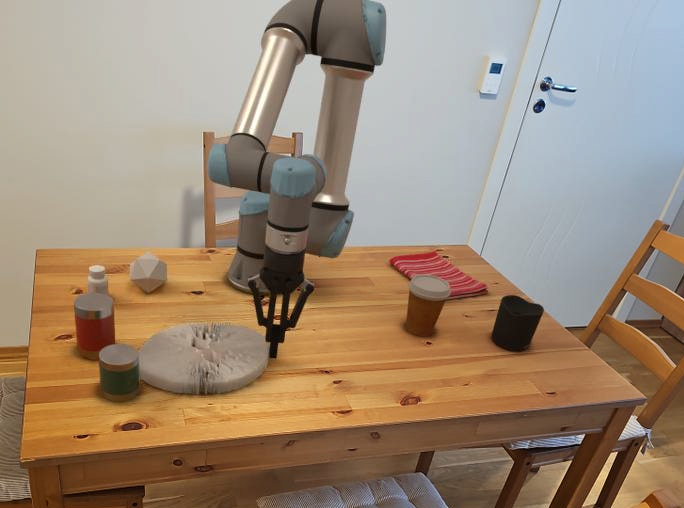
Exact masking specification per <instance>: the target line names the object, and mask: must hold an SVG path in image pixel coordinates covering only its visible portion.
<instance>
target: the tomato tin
mask: <svg viewBox="0 0 684 508" xmlns="http://www.w3.org/2000/svg"><path fill="white" fill-rule="evenodd" d="M114 307H115V306H114V299H113V297H112V296H110V295H106V294H103V293H88V292H85V293H83V294H80V295H78V296H76V297H75V298H74V300H73V309H74V310H73V311H74V324H75V336H76V345H77V346H76V347H77V353H78V355H79V356H80V357H82V358H84V359H86V360H90V361H91V360H93V361H99V353H100V351H101V350H102V349H103V348H105V347H106V346H109V345H113V344H116V325H115V308H114Z"/></svg>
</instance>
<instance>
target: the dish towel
mask: <svg viewBox="0 0 684 508" xmlns="http://www.w3.org/2000/svg"><path fill="white" fill-rule="evenodd" d="M389 264H390V265H391V266H393V267H394V268H395V269H396V270H398V272H400V273H402V274H403V275H404V276H406V277H407V278H408V279H409V280H410V281H411V280H412V278H413V277H414V276H416V275H431V276H436V277H439V278H441V279H443V280H445V281H446V282H448V284H449V285H450V291H451V293H450V295H449V296H448V298H447V299H446V301H447V300H453V299H460V298H461V299H462V298H467V297H475V296H479V295H480V296H481V295H486V294H488V293H489V290H487V289H488V285H487V284H486V283H484V282H482V281H480V280H477V279H475V278H474V277H472V276H470V275H469V274H467V273H465V272H463V271H462V270H460V269H459V268H457V266H455V265H454V264H452V263H451V262H448V261H447V260H446V259H445V258H444V257H442V256H440V255H439V254H438V252H436V251H430V252H426V253H425V252H424V253H414V254H403V255H401V254H400V255H396V256H393V257H391V258H390V259H389Z"/></svg>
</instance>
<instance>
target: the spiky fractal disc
mask: <svg viewBox="0 0 684 508" xmlns="http://www.w3.org/2000/svg"><path fill="white" fill-rule="evenodd" d="M204 336H205V337H204ZM204 338H205V339H204ZM193 345H194V346H193ZM269 349H270V342H266V340H265V334H264V333H262V332H259V331H257V330H256V329H253V328H250V327H247V326H243V325H240V324H234V323H230V322H217V321H215V322H211V321H210V322H208V323H207V321H203V322H202V321H201V322H194V321H192V322H187V323H186V322H185V323H182V324H175V325H172V326H170V327H167V328H165V329H162V330H161V331H158V332H157V333H155V334H153V335H151V336H150V337H149V338H148V339H147V340H145V341H144V343H142V345H141V346H140V348H139V351H138V353H139V380H141V381H143V382H144V383H145V384H146V383H147V385H149V386H152V387H154V388H156V389H161V390H163V391H167V392H172V393H176V394H185V395H186V394H187V395H188V394H189V395H191V394H196V396H198V394H200V390H201V395H203V393H204V394H205V395H208V393H210V394H221V393H222V394H226V393H229V392H230V393H231V392H232V391H236V390H239V389H242V388H243V387H245V386H247V385H249V384H251V383H253V382H254V381H255V380H257V379H258V378H259V377H261V376H262V374H263V373H264V371H266V369H267V368H268V364H269V359H270V358H269ZM206 374H207V378H206Z"/></svg>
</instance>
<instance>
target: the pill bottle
mask: <svg viewBox="0 0 684 508" xmlns="http://www.w3.org/2000/svg"><path fill="white" fill-rule="evenodd" d="M87 293H103V294H106V295H109V293H110V292H109V278H108V276H107V275H106V267H105V266H103V265H101V264H100V265H99V264H95V265H91V266H89V268H88V277H87ZM109 296H110V295H109Z"/></svg>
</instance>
